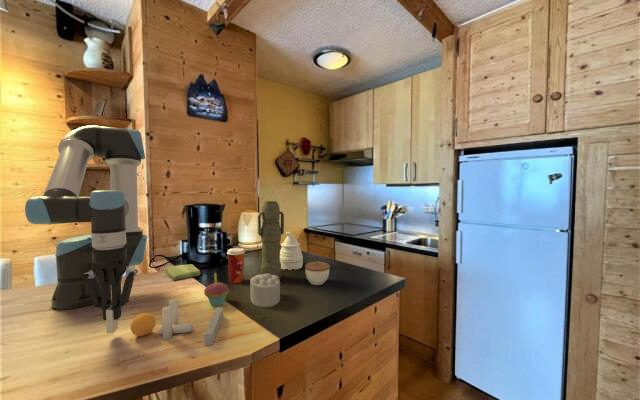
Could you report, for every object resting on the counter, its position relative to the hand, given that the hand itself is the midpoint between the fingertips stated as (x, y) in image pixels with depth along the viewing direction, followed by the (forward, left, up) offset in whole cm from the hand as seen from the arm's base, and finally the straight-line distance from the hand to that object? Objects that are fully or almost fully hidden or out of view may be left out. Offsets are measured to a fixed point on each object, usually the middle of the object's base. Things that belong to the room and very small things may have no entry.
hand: (112, 330), depth 77 cm
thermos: (+43, +42, -2) cm, 60 cm away
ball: (+8, 0, +1) cm, 8 cm away
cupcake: (+24, +19, -2) cm, 31 cm away
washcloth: (+1, +55, -3) cm, 55 cm away
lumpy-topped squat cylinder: (+41, +19, -2) cm, 46 cm away
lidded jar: (+63, +34, -2) cm, 72 cm away
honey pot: (+53, +60, -2) cm, 80 cm away
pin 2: (+15, +2, -2) cm, 15 cm away
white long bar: (+27, 0, -2) cm, 27 cm away
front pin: (+12, 0, -1) cm, 12 cm away
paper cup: (+28, +41, -2) cm, 50 cm away
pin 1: (+15, -2, -2) cm, 15 cm away
